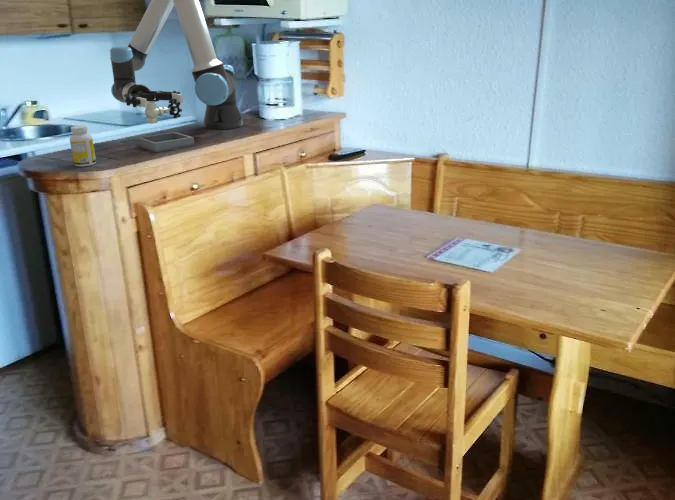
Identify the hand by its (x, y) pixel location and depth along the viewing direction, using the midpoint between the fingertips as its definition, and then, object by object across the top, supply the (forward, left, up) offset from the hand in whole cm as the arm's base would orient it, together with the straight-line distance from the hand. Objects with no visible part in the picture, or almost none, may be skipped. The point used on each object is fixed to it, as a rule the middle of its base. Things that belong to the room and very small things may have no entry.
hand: (164, 101), depth 216 cm
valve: (0, -3, -7) cm, 7 cm away
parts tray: (0, -3, -16) cm, 16 cm away
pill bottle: (+30, +3, -16) cm, 34 cm away
